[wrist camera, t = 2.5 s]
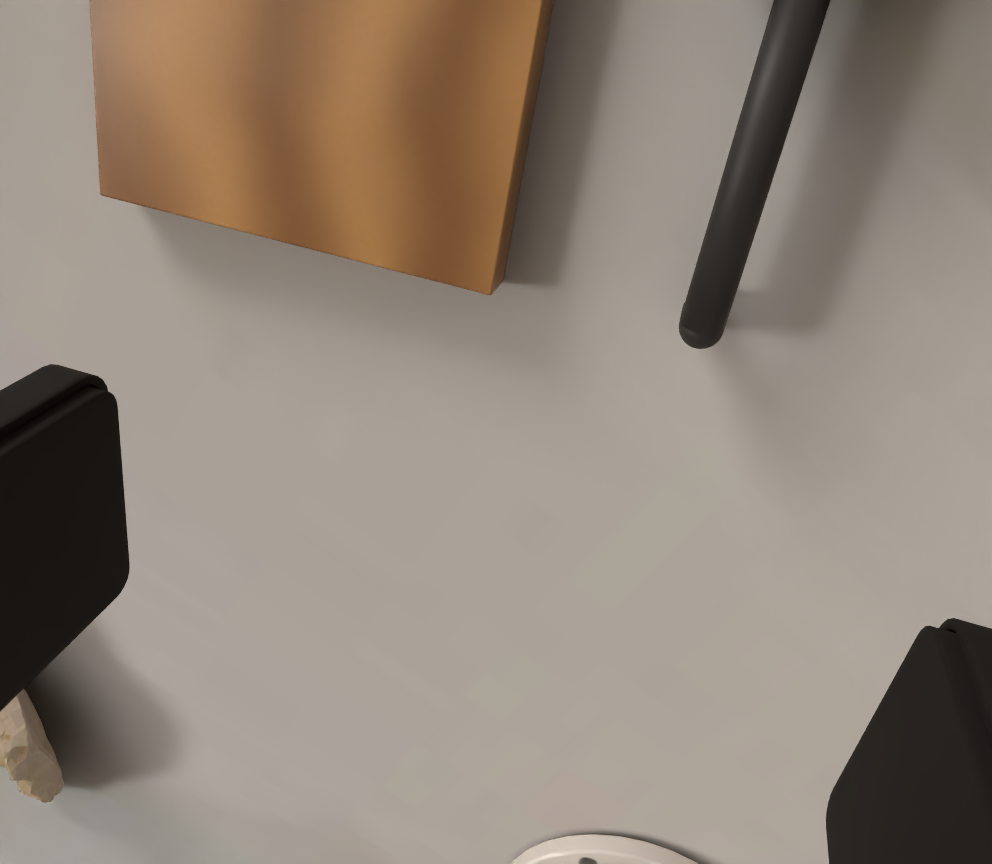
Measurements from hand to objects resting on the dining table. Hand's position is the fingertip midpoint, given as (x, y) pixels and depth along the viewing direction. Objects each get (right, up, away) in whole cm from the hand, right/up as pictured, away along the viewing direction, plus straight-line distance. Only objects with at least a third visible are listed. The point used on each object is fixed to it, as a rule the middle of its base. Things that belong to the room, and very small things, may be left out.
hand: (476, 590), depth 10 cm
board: (-5, +16, +16) cm, 23 cm away
